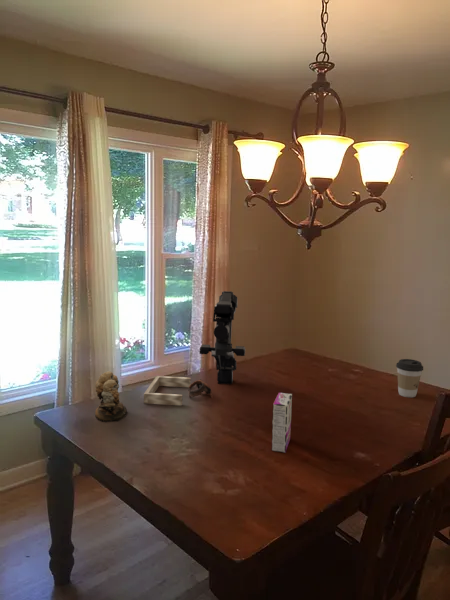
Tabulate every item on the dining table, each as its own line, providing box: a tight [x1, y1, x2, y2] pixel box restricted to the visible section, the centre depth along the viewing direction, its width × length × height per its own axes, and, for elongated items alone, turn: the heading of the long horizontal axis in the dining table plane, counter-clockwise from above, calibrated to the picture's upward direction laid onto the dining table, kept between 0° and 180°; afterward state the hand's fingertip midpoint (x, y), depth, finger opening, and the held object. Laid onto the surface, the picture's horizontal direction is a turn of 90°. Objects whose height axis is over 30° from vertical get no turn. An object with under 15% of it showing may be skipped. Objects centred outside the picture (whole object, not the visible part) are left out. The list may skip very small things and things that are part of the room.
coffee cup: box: [395, 358, 424, 398], centre depth 214 cm, size 11×11×15 cm
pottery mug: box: [188, 379, 213, 399], centre depth 207 cm, size 12×10×8 cm
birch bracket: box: [143, 375, 192, 406], centre depth 208 cm, size 16×23×4 cm
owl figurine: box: [94, 371, 128, 423], centre depth 185 cm, size 18×12×17 cm, turn 15°
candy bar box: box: [271, 392, 293, 454], centre depth 163 cm, size 11×5×16 cm, turn 164°
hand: (222, 370), depth 205 cm, fingers closed
